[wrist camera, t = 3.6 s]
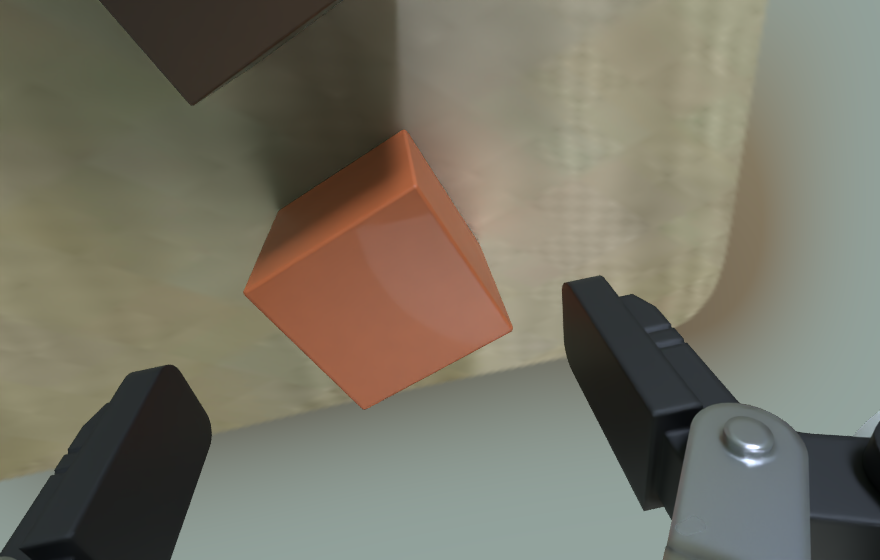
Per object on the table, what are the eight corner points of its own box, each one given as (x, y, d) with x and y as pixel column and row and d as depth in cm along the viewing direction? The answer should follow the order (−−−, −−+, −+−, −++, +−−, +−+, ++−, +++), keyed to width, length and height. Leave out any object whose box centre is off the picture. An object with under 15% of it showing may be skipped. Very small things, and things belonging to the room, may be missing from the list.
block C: (481, 246, 16) (514, 331, 12) (366, 313, 17) (363, 412, 13) (405, 127, 14) (416, 183, 10) (276, 211, 15) (240, 293, 11)
